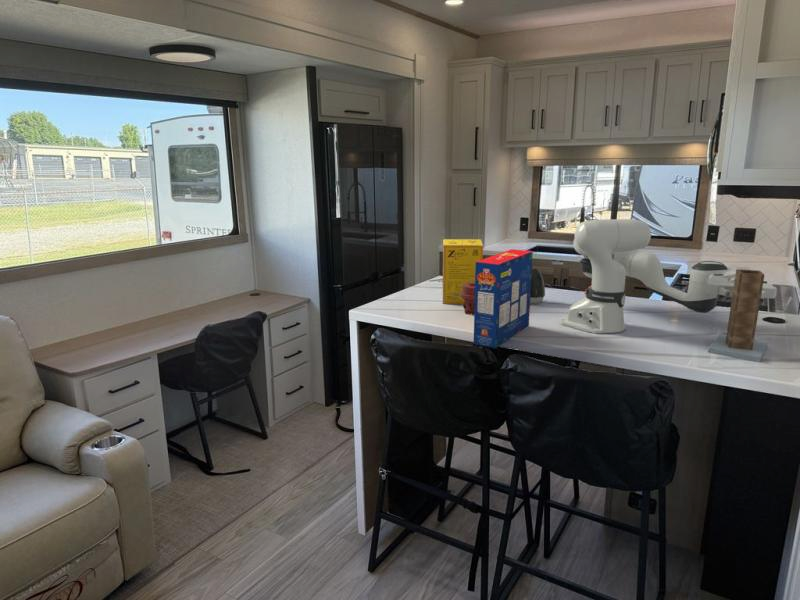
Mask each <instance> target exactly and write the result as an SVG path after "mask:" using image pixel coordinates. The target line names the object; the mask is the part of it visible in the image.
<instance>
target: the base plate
mask: <svg viewBox="0 0 800 600" xmlns="http://www.w3.org/2000/svg"><path fill="white" fill-rule="evenodd" d="M707 349H708V350H707V353H709V354H714V355H721V356H725V357H731V358H736V359H740V358H741V359H740V360H745V359H747V360H746V361H751V360H752V362H756V361H757V362H756V363H760V362H761V361H762V358H763V357H764V354H765V353H766V352H767V349H768V343H767V342H762V341H756V340H754V342H753V348H752V350H747V349H737V348H729V347H728V345H727V343H726V335H722V334H718V335H717V337H716V338H715V339H714V340H713V342H712V343H711V344H710V345H709V346H708V348H707Z"/></svg>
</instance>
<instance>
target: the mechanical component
mask: <svg viewBox="0 0 800 600" xmlns="http://www.w3.org/2000/svg"><path fill="white" fill-rule="evenodd" d="M460 297H461V298H463V299H464V304H463V310H464V314H465V315H467V314H468V315H470V314H471V315H474V307H475V282H468V283H465V284H463V285H462V292H460Z"/></svg>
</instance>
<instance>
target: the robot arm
mask: <svg viewBox="0 0 800 600" xmlns="http://www.w3.org/2000/svg"><path fill="white" fill-rule="evenodd" d="M651 231H652V230H651V228H650V226H649V224H648V223H647V222H646V221H643V220H639V219H632V218H621V219H619V218H618V219H617V218H616V219H614V218H613V219H609V218H608V219H606V218H605V219H590V220H587V221H586V220H585V221H583V222H580V223H579V224H578V225H577V227H576V228H575V231H574V239H573V242H572V243H573V249H574V250H575V252H576V253H578V254H579V255H581V256H582V257H581V259H580V260H579V263H580V271H581V273H582V274H583V275H585V276H586V277H588V278H590V279H591V285H590V286H588V288H586V289H585V290H584V294H585V297H583V298H581V299H580V300H578V301H576V302H574V303H573V304H571V305H570V307H569V309H568V312H567V314H566V315H565V316H564V317H562V318H561V319H560V324H561V325H562V326H567V327H569V328H574V329H577V330H582V331H585V332H589V333H593V334H604V333H607V334H608V333H609V334H610V333H621V332H624V331H625V330H626V324H625V319H624V306H625V302H626V290H625V287H626V276H627V277H631V278H635V279H637V280H639V281H641V282H642V283H643V284H644V286H645V288H646V289H647V290H649V291H650V292H652V293H654V294H656V295H658V296H661V297H663V298H665V299H668V300H670V301H673V302H675V303H677V304H679V305H681V306H683V307H686V308H687V309H689V310H690V311H693V312H696V313H700V314H701V313H702V314H707V313H709V312H711V311H712V310H714V309H715V308H716V307H717V304H718V303H717V302H718V296H723V297H729V298H730V299H732V295H733V288H734V282H735V275H736V269H740V268H739V267H736V266H733V265H725V264H724V263H723V262H720V261H714V260H703V261H699V262H697V263H695V264H694V265H693V266H692V267H691V269H690V274H689V279H688V280H689V281H688V287H687V292H685V291H683V290H680V289H678V288H676V287H673V286H670V285H669V284H668V282H667V280H666V278H665V275H664V271H663V266H662V262H661V260H660V258H658V256H657V255H656V254H654V253H652V252H650V251H646V250H645V251H644V250H643V249H645V248H646V247H647V246H648V245H649V243H650V242H651V237H652V232H651ZM641 249H642V250H641ZM740 270H742V269H740ZM777 289H778V288H777V287H776V286H774V285H773V284H769V283H764V282H763V287H762V294H761V299H768V300H769V299H775V298H776V296H777V292H778V290H777Z"/></svg>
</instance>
